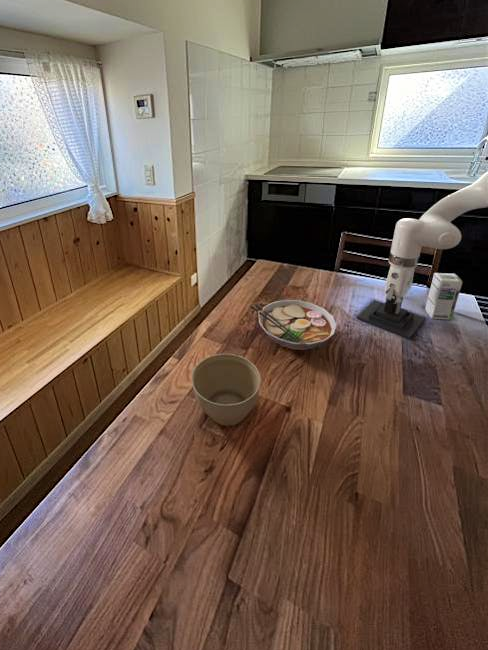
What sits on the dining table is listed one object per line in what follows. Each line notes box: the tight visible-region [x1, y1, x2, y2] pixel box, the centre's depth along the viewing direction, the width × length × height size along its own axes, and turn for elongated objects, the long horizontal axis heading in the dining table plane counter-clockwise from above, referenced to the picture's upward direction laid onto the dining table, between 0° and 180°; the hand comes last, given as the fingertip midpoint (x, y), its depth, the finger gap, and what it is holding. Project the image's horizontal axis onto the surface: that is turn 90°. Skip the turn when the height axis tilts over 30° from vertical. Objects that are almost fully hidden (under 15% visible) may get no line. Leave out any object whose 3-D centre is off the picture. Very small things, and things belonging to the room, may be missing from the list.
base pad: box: [356, 299, 426, 341], centre depth 111 cm, size 16×14×2 cm
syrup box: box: [424, 272, 463, 321], centre depth 109 cm, size 6×6×14 cm
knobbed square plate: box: [376, 296, 409, 322], centre depth 109 cm, size 7×7×6 cm
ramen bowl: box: [250, 299, 337, 351], centre depth 104 cm, size 25×23×8 cm
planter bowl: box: [190, 353, 262, 427], centre depth 81 cm, size 16×16×11 cm
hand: (392, 309), depth 110 cm, fingers closed on knobbed square plate, 4 cm apart
